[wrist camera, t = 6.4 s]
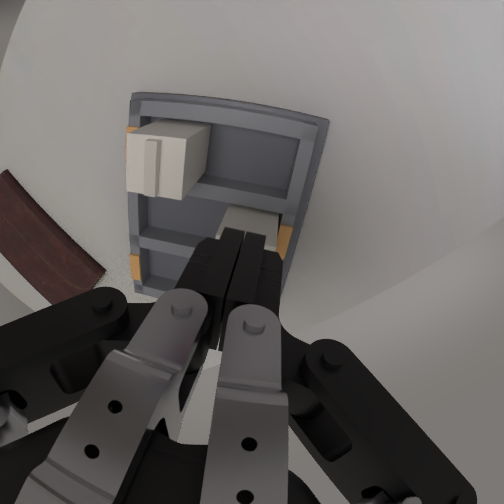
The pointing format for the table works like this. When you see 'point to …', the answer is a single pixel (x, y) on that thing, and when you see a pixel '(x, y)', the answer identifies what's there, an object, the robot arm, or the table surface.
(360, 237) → the table surface
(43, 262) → the notebook
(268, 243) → the white rectangular block
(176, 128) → the white ridged block
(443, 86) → the table surface
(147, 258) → the switch bank
